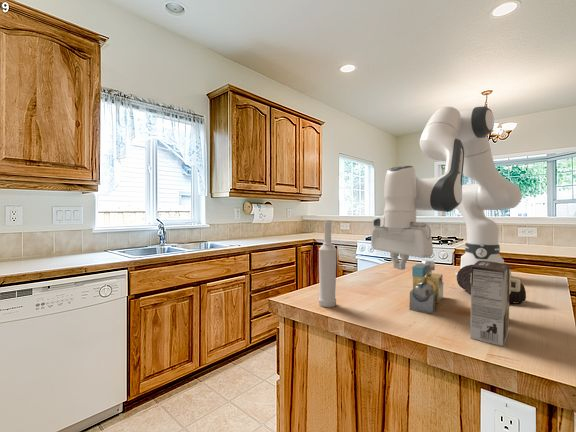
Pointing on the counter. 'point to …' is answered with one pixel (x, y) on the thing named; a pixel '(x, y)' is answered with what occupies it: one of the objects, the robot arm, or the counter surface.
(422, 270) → the lever
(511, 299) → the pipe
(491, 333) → the coffee box
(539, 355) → the counter surface
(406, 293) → the counter surface
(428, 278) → the valve pipe
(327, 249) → the bottle
